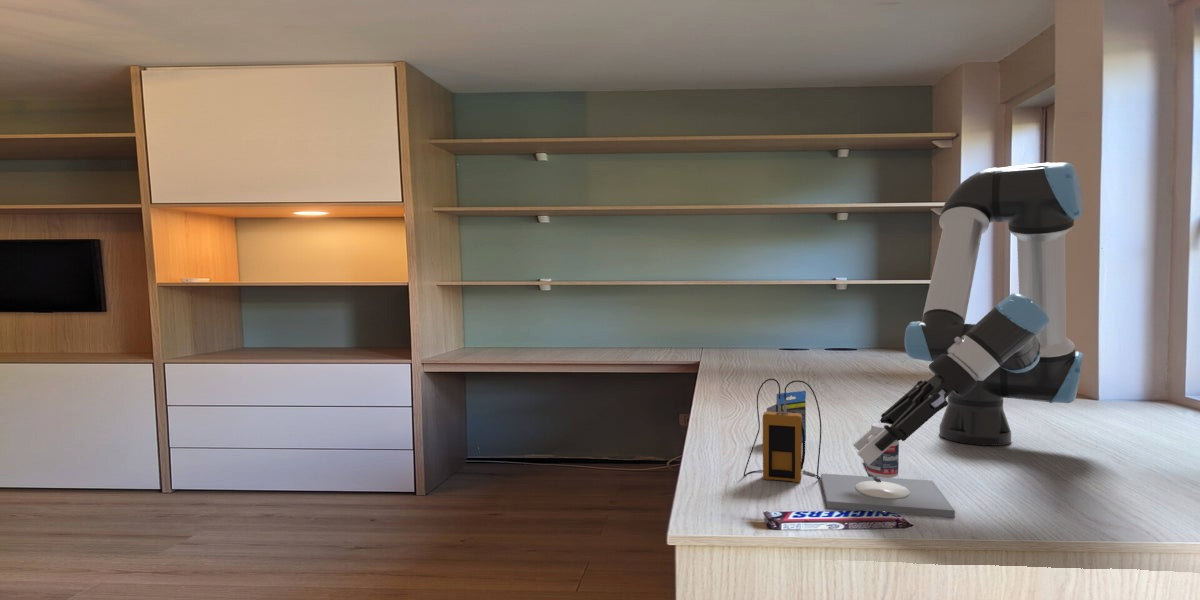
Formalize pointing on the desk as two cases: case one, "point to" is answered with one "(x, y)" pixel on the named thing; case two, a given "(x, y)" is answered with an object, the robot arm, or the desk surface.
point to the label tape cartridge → (792, 405)
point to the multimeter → (783, 443)
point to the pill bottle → (884, 456)
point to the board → (885, 495)
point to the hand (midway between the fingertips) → (860, 454)
